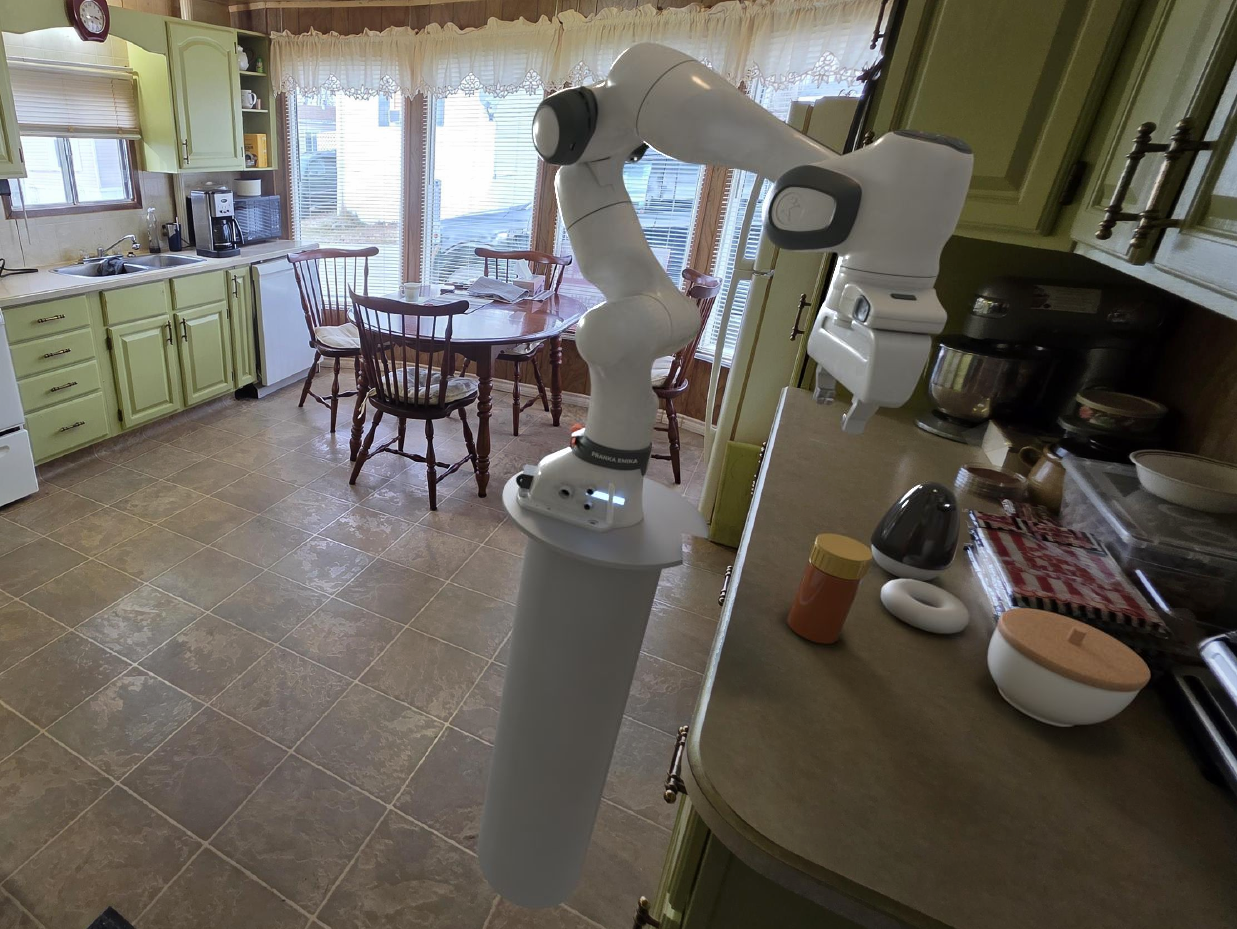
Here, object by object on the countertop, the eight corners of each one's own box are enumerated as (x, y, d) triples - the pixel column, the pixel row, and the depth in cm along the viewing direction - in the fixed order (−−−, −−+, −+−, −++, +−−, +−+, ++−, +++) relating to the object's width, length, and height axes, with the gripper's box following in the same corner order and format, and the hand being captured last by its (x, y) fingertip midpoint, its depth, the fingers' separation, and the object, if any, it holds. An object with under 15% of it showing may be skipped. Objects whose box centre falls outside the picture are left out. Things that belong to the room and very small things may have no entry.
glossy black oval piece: (877, 583, 101) (914, 494, 95) (853, 546, 110) (886, 464, 104) (955, 597, 99) (999, 507, 93) (924, 559, 108) (962, 475, 102)
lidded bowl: (992, 652, 88) (1029, 582, 84) (1124, 718, 78) (1174, 644, 74) (952, 687, 82) (990, 614, 77) (1091, 764, 72) (1143, 686, 68)
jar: (790, 635, 89) (820, 556, 84) (783, 609, 94) (811, 532, 89) (842, 648, 87) (876, 568, 82) (832, 621, 92) (864, 543, 87)
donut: (953, 607, 97) (872, 584, 101) (964, 588, 95) (881, 565, 99) (971, 649, 89) (881, 622, 93) (982, 629, 87) (891, 602, 91)
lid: (813, 572, 85) (820, 553, 84) (804, 547, 90) (811, 528, 89) (871, 585, 83) (879, 565, 82) (858, 558, 88) (866, 539, 87)
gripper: (813, 277, 82) (780, 385, 87) (881, 314, 64) (834, 446, 69) (871, 282, 81) (834, 391, 86) (957, 321, 62) (903, 456, 68)
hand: (834, 416), depth 78 cm, fingers open, 8 cm apart
